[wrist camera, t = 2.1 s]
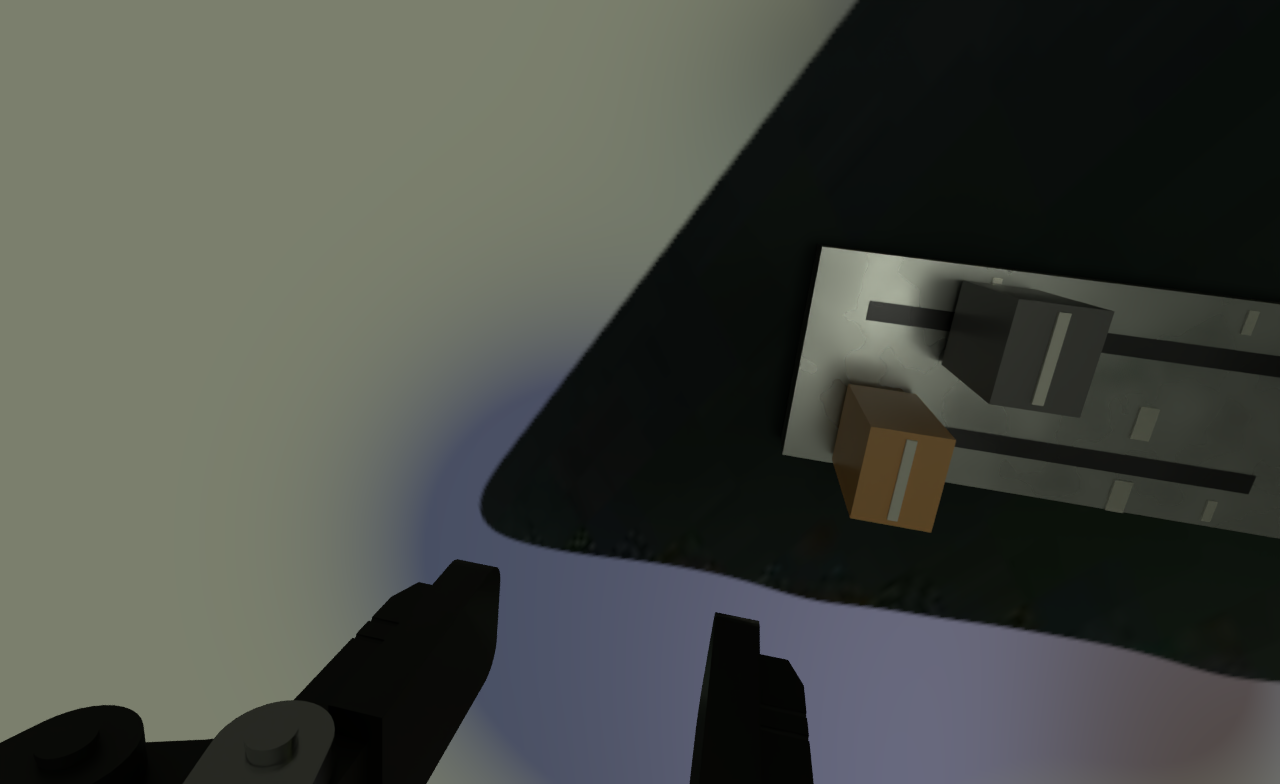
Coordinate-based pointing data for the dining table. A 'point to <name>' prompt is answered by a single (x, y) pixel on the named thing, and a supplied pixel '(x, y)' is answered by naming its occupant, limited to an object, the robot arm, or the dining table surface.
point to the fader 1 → (891, 457)
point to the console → (1048, 443)
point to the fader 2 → (1026, 347)
